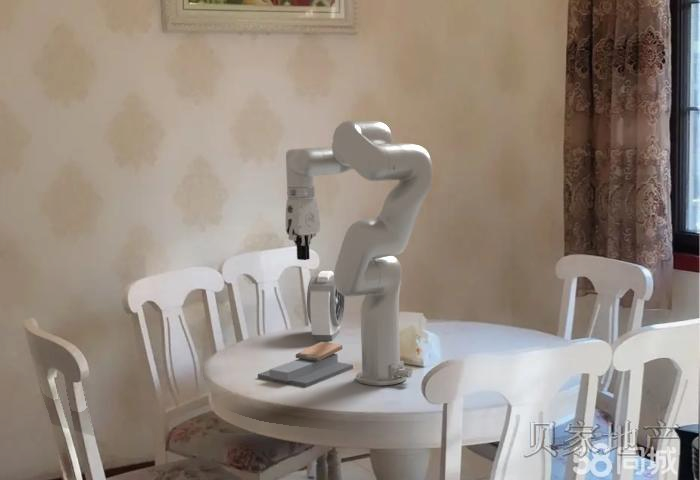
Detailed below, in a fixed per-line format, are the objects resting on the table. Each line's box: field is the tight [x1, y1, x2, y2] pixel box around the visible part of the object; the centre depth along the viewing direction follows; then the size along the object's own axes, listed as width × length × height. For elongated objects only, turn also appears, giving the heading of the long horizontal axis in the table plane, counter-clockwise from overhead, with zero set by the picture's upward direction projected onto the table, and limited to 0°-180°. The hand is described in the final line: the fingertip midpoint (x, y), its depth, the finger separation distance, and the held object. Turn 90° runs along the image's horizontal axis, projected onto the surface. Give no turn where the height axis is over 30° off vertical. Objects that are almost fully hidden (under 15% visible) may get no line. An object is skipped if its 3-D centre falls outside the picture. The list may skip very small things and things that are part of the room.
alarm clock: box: [306, 270, 346, 342], centre depth 256 cm, size 18×8×20 cm, turn 168°
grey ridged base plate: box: [257, 353, 354, 388], centre depth 217 cm, size 16×20×3 cm
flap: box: [295, 341, 343, 361], centre depth 221 cm, size 7×11×1 cm, turn 144°
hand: (303, 259), depth 233 cm, fingers closed
